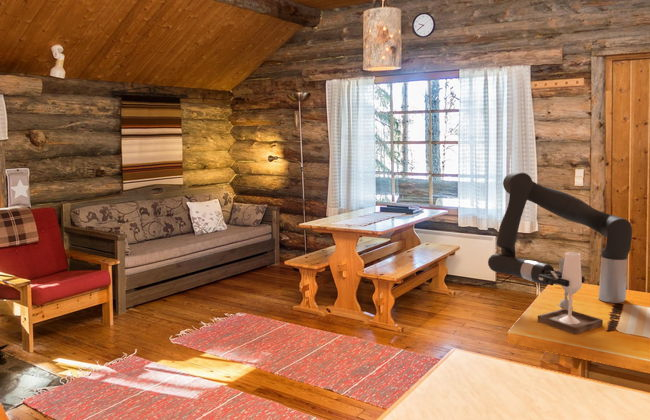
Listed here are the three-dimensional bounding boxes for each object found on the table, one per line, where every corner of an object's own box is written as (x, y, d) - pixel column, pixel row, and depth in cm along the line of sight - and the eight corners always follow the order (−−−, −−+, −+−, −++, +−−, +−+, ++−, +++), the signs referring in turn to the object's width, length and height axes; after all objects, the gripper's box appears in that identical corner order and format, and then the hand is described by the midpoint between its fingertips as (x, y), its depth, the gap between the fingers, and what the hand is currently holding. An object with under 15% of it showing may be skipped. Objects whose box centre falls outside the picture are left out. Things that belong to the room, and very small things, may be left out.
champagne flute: (581, 324, 196) (584, 256, 192) (559, 323, 198) (563, 255, 194) (578, 318, 202) (582, 252, 199) (558, 316, 204) (561, 251, 201)
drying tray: (564, 314, 210) (564, 308, 210) (602, 325, 198) (602, 319, 197) (537, 321, 202) (537, 315, 202) (575, 334, 190) (575, 328, 189)
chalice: (578, 309, 216) (581, 262, 213) (560, 309, 216) (562, 262, 213) (570, 303, 223) (573, 258, 220) (552, 303, 223) (555, 258, 220)
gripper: (524, 264, 206) (564, 274, 192) (549, 259, 213) (589, 268, 199) (523, 284, 207) (563, 295, 193) (548, 279, 214) (588, 289, 200)
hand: (576, 281), depth 196 cm, fingers open, 8 cm apart
